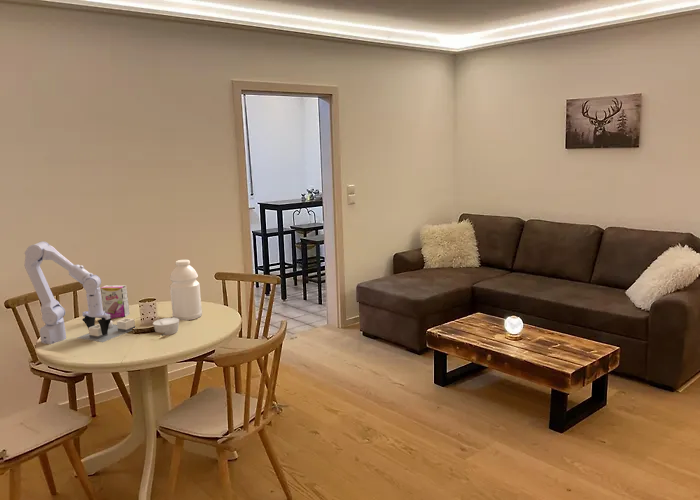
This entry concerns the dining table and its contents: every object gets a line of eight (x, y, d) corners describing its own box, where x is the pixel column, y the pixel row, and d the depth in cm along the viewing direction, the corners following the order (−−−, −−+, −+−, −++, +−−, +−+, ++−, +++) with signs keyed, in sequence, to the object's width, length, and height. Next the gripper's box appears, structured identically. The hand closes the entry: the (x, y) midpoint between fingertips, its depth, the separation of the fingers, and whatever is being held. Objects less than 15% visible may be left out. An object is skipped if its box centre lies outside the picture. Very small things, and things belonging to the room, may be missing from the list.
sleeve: (98, 338, 246) (97, 328, 245) (89, 337, 248) (88, 327, 247) (107, 335, 250) (106, 325, 250) (99, 333, 253) (98, 324, 252)
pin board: (103, 345, 242) (102, 335, 241) (76, 341, 248) (75, 331, 248) (138, 330, 259) (137, 321, 259) (112, 327, 266) (111, 318, 265)
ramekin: (148, 334, 254) (147, 323, 253) (167, 327, 264) (166, 316, 263) (166, 337, 249) (165, 326, 248) (185, 330, 259) (184, 319, 258)
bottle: (178, 323, 269) (173, 265, 264) (168, 316, 280) (163, 260, 275) (206, 316, 277) (202, 260, 272) (196, 310, 288) (191, 256, 283)
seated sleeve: (126, 332, 253) (125, 322, 253) (117, 330, 256) (116, 321, 255) (135, 328, 258) (134, 319, 257) (126, 327, 260) (125, 317, 259)
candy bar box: (103, 320, 278) (99, 287, 275) (108, 317, 283) (105, 285, 280) (125, 320, 277) (121, 287, 274) (130, 317, 282) (126, 284, 279)
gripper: (114, 302, 247) (118, 332, 249) (90, 299, 253) (94, 328, 256) (101, 306, 241) (105, 337, 243) (77, 304, 247) (81, 333, 249)
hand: (98, 333), depth 249 cm, fingers open, 7 cm apart
